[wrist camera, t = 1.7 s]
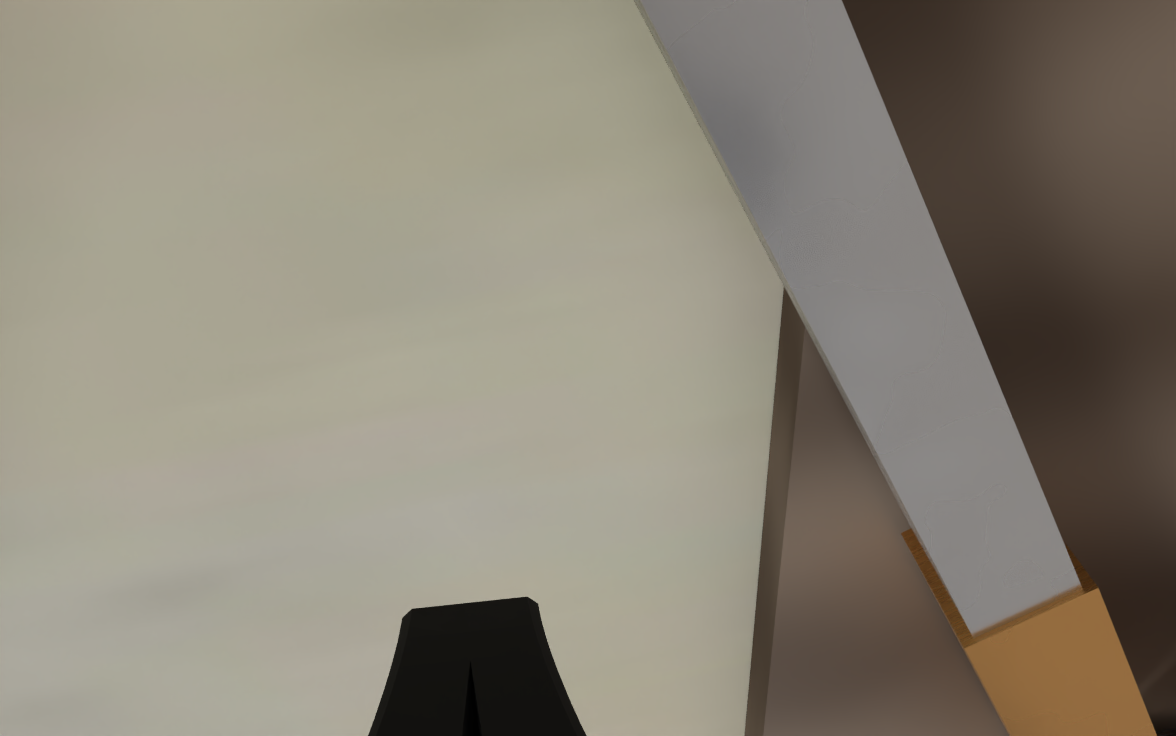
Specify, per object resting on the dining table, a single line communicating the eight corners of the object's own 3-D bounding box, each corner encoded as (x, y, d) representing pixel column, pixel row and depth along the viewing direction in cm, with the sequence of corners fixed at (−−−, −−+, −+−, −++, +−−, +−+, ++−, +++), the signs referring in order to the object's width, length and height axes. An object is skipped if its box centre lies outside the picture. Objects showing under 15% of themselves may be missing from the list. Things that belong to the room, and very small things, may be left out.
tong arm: (1240, 784, 24) (1328, 904, 22) (1072, 853, 25) (1140, 977, 23) (823, -468, 11) (934, -513, 8) (486, -241, 12) (499, -222, 9)
